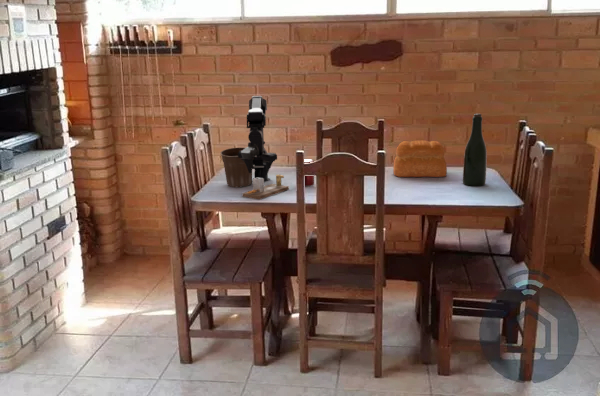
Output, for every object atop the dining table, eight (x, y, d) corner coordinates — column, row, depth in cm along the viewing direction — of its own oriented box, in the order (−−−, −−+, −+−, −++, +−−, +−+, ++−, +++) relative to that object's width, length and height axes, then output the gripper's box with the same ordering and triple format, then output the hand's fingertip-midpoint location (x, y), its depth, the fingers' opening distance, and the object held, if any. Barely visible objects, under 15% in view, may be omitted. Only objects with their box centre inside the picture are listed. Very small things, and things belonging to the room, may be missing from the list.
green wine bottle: (489, 183, 290) (493, 113, 282) (478, 187, 283) (482, 115, 274) (469, 180, 297) (472, 111, 289) (458, 184, 290) (461, 114, 281)
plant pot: (249, 189, 290) (247, 156, 284) (217, 188, 294) (215, 155, 289) (260, 179, 305) (258, 147, 299) (229, 178, 309) (227, 146, 303)
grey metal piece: (257, 190, 281) (257, 177, 279) (264, 191, 278) (263, 178, 277) (245, 194, 274) (244, 181, 273) (251, 195, 272) (251, 182, 270)
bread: (392, 171, 321) (392, 138, 316) (443, 171, 319) (444, 137, 314) (394, 178, 306) (395, 143, 301) (448, 177, 304) (449, 143, 299)
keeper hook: (278, 184, 291) (278, 174, 290) (285, 185, 289) (284, 175, 288) (275, 185, 289) (274, 175, 288) (281, 186, 287) (281, 176, 286)
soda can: (316, 183, 298) (315, 159, 295) (311, 187, 291) (311, 162, 288) (302, 182, 300) (301, 158, 297) (297, 186, 293) (296, 161, 290)
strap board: (272, 186, 294) (272, 183, 293) (288, 189, 288) (288, 186, 287) (242, 196, 278) (242, 192, 277) (259, 199, 272) (259, 195, 271)
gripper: (228, 140, 272) (230, 175, 276) (260, 144, 261) (262, 180, 265) (245, 137, 280) (246, 170, 284) (277, 140, 269) (278, 175, 273)
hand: (257, 174), depth 276 cm, fingers open, 9 cm apart
